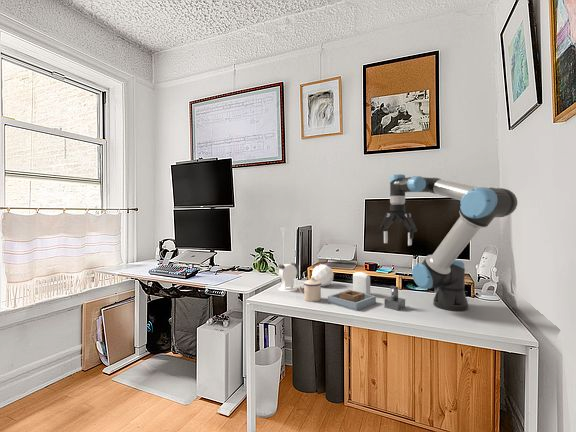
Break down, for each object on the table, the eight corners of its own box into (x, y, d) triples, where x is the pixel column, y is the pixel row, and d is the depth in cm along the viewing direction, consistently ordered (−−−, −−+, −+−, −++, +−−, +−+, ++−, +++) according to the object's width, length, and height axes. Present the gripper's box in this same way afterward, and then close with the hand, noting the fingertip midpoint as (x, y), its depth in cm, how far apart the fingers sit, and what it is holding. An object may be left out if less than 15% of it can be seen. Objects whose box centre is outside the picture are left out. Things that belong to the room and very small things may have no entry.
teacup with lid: (323, 298, 168) (323, 276, 168) (317, 302, 160) (317, 280, 160) (302, 295, 173) (302, 274, 173) (296, 300, 165) (296, 277, 165)
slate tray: (375, 303, 159) (375, 296, 159) (356, 310, 148) (356, 303, 147) (347, 296, 172) (347, 289, 171) (328, 303, 160) (328, 296, 160)
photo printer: (351, 293, 178) (351, 271, 178) (356, 291, 181) (356, 270, 180) (366, 297, 170) (366, 274, 170) (371, 295, 173) (371, 273, 172)
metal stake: (405, 307, 152) (405, 286, 152) (398, 310, 147) (398, 289, 147) (391, 304, 157) (391, 284, 157) (384, 307, 152) (384, 286, 152)
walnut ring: (354, 304, 153) (354, 296, 153) (339, 301, 160) (339, 293, 160) (366, 300, 160) (366, 292, 160) (351, 296, 167) (351, 289, 167)
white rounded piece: (289, 285, 196) (289, 261, 195) (302, 289, 187) (301, 264, 186) (274, 288, 188) (274, 263, 188) (286, 292, 179) (286, 266, 179)
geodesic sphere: (321, 281, 183) (329, 260, 189) (303, 277, 193) (311, 258, 198) (332, 292, 192) (340, 272, 197) (315, 288, 201) (323, 269, 207)
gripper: (424, 203, 161) (424, 245, 161) (380, 204, 179) (379, 241, 179) (417, 203, 155) (417, 246, 156) (372, 204, 173) (372, 242, 174)
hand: (397, 244), depth 168 cm, fingers open, 13 cm apart
